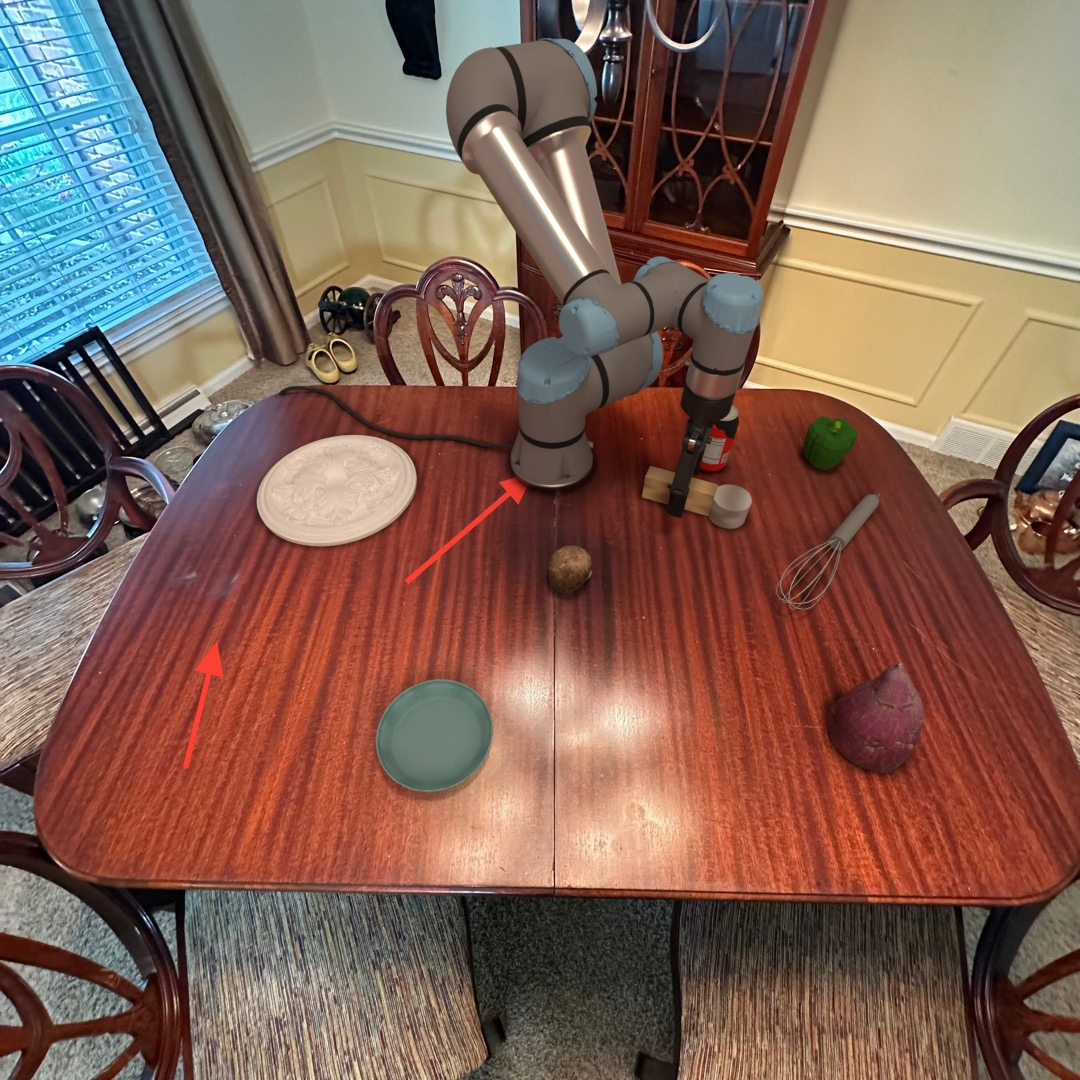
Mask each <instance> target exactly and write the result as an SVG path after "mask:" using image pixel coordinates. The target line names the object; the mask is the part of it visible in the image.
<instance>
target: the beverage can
mask: <svg viewBox="0 0 1080 1080" xmlns="http://www.w3.org/2000/svg"><path fill="white" fill-rule="evenodd" d="M738 415H739V411H738V408H737V407H736V406H735V405H733V404H732V407H731V411H730V413H729V414H728V415H727V416H726V417H725V418H724V419H721V420H719V421H715V424H714V425H713V428H712V431H711V434H710V435H709V436H708V437H711V438H712V441H711V444H706V448H705V452H704V455H703V459H702V462H701V466H700V470H703V471H705V472H716V471H720V470H722V469H724V468H725V466H726V465H727V464H728V460H729V456H730V454H731V451H732V447H733V444H734V441H735V437H736V434H737V431H738V428H739V424H740V419H739V416H738Z"/></svg>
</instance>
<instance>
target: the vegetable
mask: <svg viewBox="0 0 1080 1080" xmlns="http://www.w3.org/2000/svg"><path fill="white" fill-rule="evenodd" d="M826 717H827V718H826V719H827V730H828V737H829V740H830V741H831V744H832V745H833V746H834V747H835V749H836V750H837V751H838V752H839V753H840V754H841V755H842V756H843V757H845V758H846V759H847V760H848V761H849V762H850V763H852V764H854V765H855V766H857V767H858V768H862V769H865V770H867V771H871V772H875V773H879V774H890V773H893V772H894V771H895V770H897V769H898V768H899V767H900V766H902V764H904V763H905V762H906V761H907V760H908V758H909V757H910V755H911V754H912V753H913V751H914V750H915V748H916V746H917V744H918V742H919V739H920V737H921V733H922V728H923V724H924V721H925V720H924V719H925V718H924V717H925V707H924V704H923V701H922V698H921V696H920V694H919V692H918V690H917V689H916V687H915V685H914V683H913V681H912V680H911V676H910V675H909V673H908V671H907V669H906V667H905V666H904V663H903V662H898V663H894V664H892V665H890V666H888V667H887V668H885V669H884V671H882V672H881V673H880V675H878V676H875V677H874V678H872V679H869V680H865V681H863V682H861V683H859V684H857V685H855V686H854V687H852V688H851V689H849V690H848V691H847V692H845V693H844V694H843V695H842V696H841V697H840V698H838V700H837V701H836V703H834V705H833V706H832V707H831V708H830V709H829V711H828V713H827V716H826Z"/></svg>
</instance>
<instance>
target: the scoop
mask: <svg viewBox="0 0 1080 1080" xmlns="http://www.w3.org/2000/svg"><path fill="white" fill-rule="evenodd" d="M674 475H675V472H674V471H672V470H671V471H670V470H667V469H663V468H660V467H656V466H653V465H650V466H649V468H648V470H647V472H646V474H645V476H644V481H643V487H642V492H641V493H642V494H641V498H644V499H647V500H650V501H653V502H658V503H661V504H663V505H667V506H668V502H669V498H670V493H669V492H670V491H669V490H670V488H667V486H668V484H672V483H673V479H674ZM689 488H690V489H689V493H688V497H687V500H686V504H685V508H684V510H685V511H689V512H691V513H695V514H699V515H702V516H705V517H708V519H709V520H710V521H711V522H712V523H713V524H714V525H715V526H718V527H720V528H722V529H728V530H732V529H737V528H740V527H741V526H742V525H744V524H745V522H746V519H747V517H748V513H749V511H750V509H751V505H752V504H753V503H752V502H753V499H752V496H751V494H750V493H749V492H748V490H747V489H745V488H744V487H741V486H739V485H737V484H729V483H728V484H721V485H719V484H717V483H714V482H711V481H708V480H707V481H706V480H703V479H700V478H696V477H693V476H692V479H691V482H690V485H689Z"/></svg>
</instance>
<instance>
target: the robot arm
mask: <svg viewBox="0 0 1080 1080" xmlns="http://www.w3.org/2000/svg"><path fill="white" fill-rule="evenodd" d="M596 80H597V79H596V75H595V72H594V69H593V67H592V65H591V62H590V59H589V58H588V56H587V54H586V53H585V52H584V50H583V49H582V48H581V47H580V46H579V45H578V44H576V43H575V42H572V41H571V40H569V39H566V38H554V39H553V38H551V37H546V38H545V37H544V38H539V39H537V40H535V41H528V42H520V43H515V44H508V45H501V46H496V47H494V46H493V47H492V46H490V47H484V48H481V49H478V50H475V51H474V52H472V53H471V54H469V55H468V56H466V58H464V59H463V60H462V61H461V63H459V65H458V67H457V68H456V70H455V71H454V73H453V75H452V78H451V80H450V83H449V87H448V90H447V94H446V101H445V102H446V103H445V119H446V124H447V130H448V135H449V138H450V140H451V143H452V146H453V148H454V150H455V152H456V154H457V156H458V157H459V159H460V160H461V162H462V164H463V165H464V166H465V168H466V170H467V171H468V172H470V173H471V174H474V175H478V176H479V177H480V178H481V180H482V181H483V183H484V185H485V186H486V188H487V189H488V191H489V193H490V194H491V195H492V197H493V199H494V200H495V202H496V203H497V205H498V206H499V208H500V209H501V211H502V213H503V214H504V216H505V218H506V219H507V221H508V222H509V223H510V225H511V227H512V228H513V230H514V231H515V233H516V235H517V236H518V238H519V240H520V241H521V242H522V244H523V245H524V247H525V249H526V250H527V252H528V253H529V255H530V256H531V258H532V260H533V261H534V263H535V264H536V266H537V267H538V269H539V271H540V272H541V273H542V276H543V277H544V279H545V280H546V282H547V283H548V284H549V286H550V288H551V290H552V291H553V293H554V294H555V296H556V297H557V298H558V300H559V302H560V304H561V305H562V306H563V307H562V309H561V310H560V311H559V312H560V313H559V317H558V328H559V332H560V333H561V335H562V336H561V337H560V338H557V337H556V336H551V337H547V338H543V339H540V340H538V341H536V342H535V343H532V344H531V345H530V346H529V347H527V348H526V349H525V350H524V351H523V353H522V354H521V356H520V358H519V361H518V364H517V375H516V376H517V377H516V391H517V404H518V426H519V427H518V428H519V430H518V433H517V435H516V438H515V441H514V444H508V443H507V444H505V443H487V442H482V441H478V440H474V439H471V438H466V437H462V436H457V435H451V434H411V433H404V432H398V431H393V430H390V429H387V428H384V427H381V426H378V425H376V424H374V423H372V422H369V421H368V420H366V419H365V418H363V417H362V416H360V415H359V414H357V412H355V411H354V410H353V409H351V408H350V407H349V406H347V405H345V403H344V402H342V401H341V400H340V399H339V398H338V397H337V396H336V395H335V394H333V393H331V392H330V391H328V390H325V389H321V388H317V387H313V386H312V388H306V387H308V386H305V385H290V386H287V387H284V388H282V389H281V390H280V391H278V395H279V396H283V395H284V394H285V393H287V392H290V391H295V390H296V391H297V390H298V391H300V390H301V391H309V392H314V393H319V394H321V395H325V396H328V397H329V398H331V399H332V400H334V402H335V403H336V404H337V405H339V406H340V407H341V408H342V409H343V410H345V412H347V413H349V414H350V415H352V417H354V418H355V419H356V420H357V421H359V422H360V423H362V424H364V425H366V427H369V428H371V429H373V430H376V431H378V432H380V433H383V434H386V435H390V436H393V437H398V438H405V439H412V440H413V439H414V440H450V441H451V440H453V441H458V442H463V443H467V444H470V445H472V446H473V445H474V446H477V447H482V448H487V449H509V450H511V452H510V469H511V472H512V474H513V475H514V477H515V479H517V481H519V482H520V484H523V486H525V487H528V488H529V489H533V490H536V491H539V492H546V493H556V492H557V493H558V492H565V491H568V490H571V489H575V488H576V487H578V486H580V485H581V484H583V483H584V482H585V481H586V480H587V479H588V478H589V476H590V475H591V473H592V470H593V460H594V459H593V452H592V448H594V442H592V441H589V440H588V436H587V433H586V417H587V415H589V414H590V413H592V412H595V411H597V410H599V409H602V408H604V407H607V406H608V405H611V404H614V403H615V402H618V401H619V400H622V399H625V398H626V397H630V396H635V395H637V394H638V393H640V392H641V391H642V390H644V389H646V388H648V387H650V386H651V385H653V384H654V382H656V380H657V378H658V376H659V374H660V372H661V370H662V367H663V362H664V350H663V344H662V340H661V337H660V334H659V331H662V330H664V329H666V328H668V327H670V328H672V329H675V330H676V331H678V332H679V333H681V334H683V335H684V336H686V337H688V338H690V339H691V340H692V341H693V342H692V348H691V353H690V359H686V360H685V361H684V366H685V367H688V369H687V373H686V376H685V381H684V384H683V387H682V391H681V396H680V397H681V398H680V407H681V410H682V411H683V412H684V414H685V415H687V416H688V417H689V418H687V420H686V423H685V427H684V430H685V432H684V435H683V438H682V442H681V451H680V454H679V458H678V461H677V465H676V468H675V472H674V473H675V475H674V479H673V483H672V484H668V486H667V488H670V490H669V491H670V492H669V493H670V498H669V502H668V505H667V506H666V510H665V514H666V515H669V516H672V517H676V518H678V519H682V518H683V514H684V512H685V511H684V510H685V509H684V508H685V504H686V500H687V497H688V493H689V489H690V488H689V485H690V482H691V479H692V477H693V475H695V476H699V472H700V470H701V468H700V466H701V462H702V459H703V455H704V452H705V448H706V444H711V441H712V438H711V437H708V436H709V435H710V434H711V431H712V428H713V425H714V424H715V421H719V420H721V419H724V418H725V417H726V416H727V415H728V414H729V413H730V411H731V407H732V405H733V403H734V400H735V397H736V392H737V391H738V389H739V385H740V382H741V378H742V375H743V372H744V368H745V364H746V358H747V355H748V352H749V349H750V346H751V344H752V343H751V342H752V340H753V336H754V334H755V331H756V328H757V327H758V324H759V321H760V313H761V309H762V305H763V300H764V290H763V287H762V286H761V284H760V282H758V281H757V280H756V279H754V278H752V277H750V276H748V275H740V274H739V273H735V272H725V273H720V274H716V275H714V276H713V277H711V278H710V279H708V278H706V277H704V276H703V275H701V274H700V273H698V272H696V271H694V270H693V269H691V268H690V267H687V266H686V265H685V264H683V263H681V262H678V261H676V260H673V259H670V258H668V257H666V256H654V257H652V258H650V259H648V260H647V261H646V263H645V264H644V265H642V266H640V268H639V269H638V270H637V271H636V274H635V276H634V278H633V280H629V281H627V282H623V283H622V282H621V281H622V280H621V277H620V274H619V270H618V267H617V266H618V265H617V262H616V258H615V254H614V251H613V246H612V243H611V239H610V235H609V232H608V228H607V224H606V221H605V216H604V213H603V209H602V206H601V205H602V204H601V201H600V198H599V194H598V190H597V187H596V182H595V178H594V175H593V171H592V168H591V163H590V159H589V156H588V153H587V148H586V145H587V144H588V141H589V138H590V135H591V133H592V128H591V124H590V123H591V121H592V120H593V118H594V116H595V113H596V109H597V101H596V100H595V98H597V96H598V88H597V81H596Z"/></svg>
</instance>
